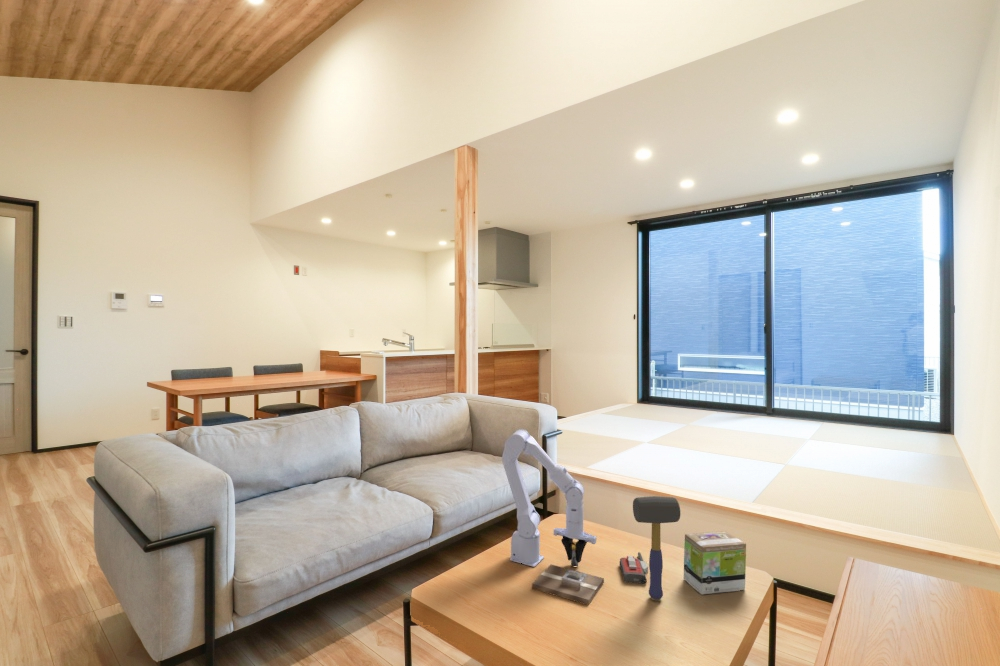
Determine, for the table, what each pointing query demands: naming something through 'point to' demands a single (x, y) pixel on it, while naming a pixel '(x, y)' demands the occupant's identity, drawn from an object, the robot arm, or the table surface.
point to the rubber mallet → (656, 533)
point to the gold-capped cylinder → (573, 554)
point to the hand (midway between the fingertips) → (574, 560)
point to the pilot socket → (575, 575)
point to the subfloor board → (553, 584)
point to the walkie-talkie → (634, 569)
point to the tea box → (714, 562)
